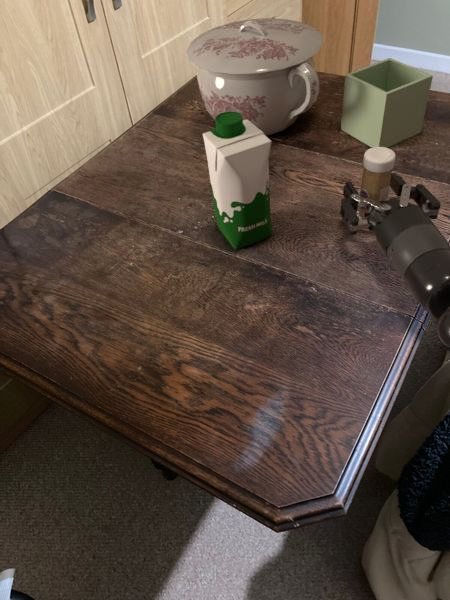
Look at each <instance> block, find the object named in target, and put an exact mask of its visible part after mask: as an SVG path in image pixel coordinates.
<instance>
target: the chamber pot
mask: <svg viewBox="0 0 450 600" xmlns="http://www.w3.org/2000/svg"><path fill="white" fill-rule="evenodd" d="M323 46H324V36H323V35H322V34H321V32H320V31H318V30H317V28H316V27H314V26H311V25H310V24H307V23H305V22H301V21H297V20H292V19H286V18H285V19H284V18H273V17H272V18H271V17H267V18H266V17H265V18H250V19H244V20H237V21H232V22H228V23H226V24H221V25H219V26H216V27H215V26H214V27H212V28H211V29H209V30H206V31H204V32H202V33H200V34H199V35H198V36H196V37H195V38H194V39H193V40H192V41H190V43H189V45H188V47H187V49H186V51H185V52H186V56H187V59H188V61H190V62H191V63H192V64H194V65H195V66H196V67H198V69H197V73H196V79H197V87H198V90H199V93H200V96H201V99H202V101H203V104H204V107H205V110H206V112H207V113H208V114H209V115H210V117H212V119H213V120H214V121H215V118H216V117H217V116H218V115H219V114H221V113H224V112H230V111H232V112H238V113H240V114H241V115H242V118H243V120H246V119H247V120H249V121H250V122H251V123H252V124H253V125H255V126H256V127H257V128H258V129H259V130H261V131H262V132H263V133H264V135H265V136H266V137H267V136H270V135H271V136H273V135H275V134H277V133H280V132H283V131H285V130H286V129H288V128H289V127H291V126H292V125H293V124H294V123H295V122H296V121H297V120H298V118H299V117H300V115H301V114H304V113H306V112H308V111H310V109H311V108H312V107H314V105H315V103H316V102H317V101H318V97H319V95H320V79H319V77H318V76H319V75H318V73H317V72H316V70H315V65H316V64H315V60H314V58H313V57H315V56H316V55H317V53H318V52H319V51H320V50H321V48H323Z"/></svg>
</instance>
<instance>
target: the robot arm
mask: <svg viewBox="0 0 450 600" xmlns="http://www.w3.org/2000/svg"><path fill="white" fill-rule="evenodd" d="M389 188H391V190H392V191H393V192H394V194H395V195H396V197H394V198H390V199H387V201H376V200H374V199H372V198H370V197H367V198H364V197H362V196H360V194H359V191H358V190H357V188H356V187H355V185H354V184H353V182H352V181H351V180H350V181H349V180H348V181H345V184H343V190H342V195H343V197H344V198H341V200H340V210H339V215H340V216H341V219H342V221H343V224H344V225H345V227H346V229H347V232H348V234H349V235H351V236H356V235H357V234H358V231H362V230H361V229H368V230H369V232H371V233H373V235H374V236H375V239H376V241H377V243H378V244H379V246H380V248H381V250H382V251H383V253H384V254H385V256H386V258H387V259H388V261H389V263H390V264H391V265H392V267H393V268H394V269H395V271H396V273H397V274H398V275H399V277H400V278H401V279H402V280H403V281H404V282H405V284H406V285H407V287H408V289H409V291H410V292H411V293H412V295H413V296H414V298H415V299H416V301H417V302H418V303H419V305H420V306H421V307H422V308H423V310H424V311H426V313H427V314H428V315H429V316H430V317H431V319H432V320H433V322H434V323H435V325H436V327H437V337H438V338H439V341H440V342H441V344H442V345H443V347H444V348H445V349H446V350H447V352H449V353H450V243H449V241H448V240H447V239H446V237H445V236H444V235H443V234H442V232H441V231H440V230H439V228H438V227H437V226H436V225H435V223H434V222H433V221H432V220H437V219H438V216H439V212H440V209H441V205H442V203H441V202H440V201H439V200H438V199H437V197H435V195H434V194H433V193H432V192H431V191H430V190H429V189H428V188H427V187H426V186H425V185H424V184H422V183H417V184H416V185H415V186H412V185H411V184H409V183H407V182H406V181H405V180H404V178H403V177H402V176H401V175H399V174H397V173H396V172H392V173H391V179H390V187H389ZM398 197H400V198H398ZM410 200H413V201H414V202H415V204H414V203H412V202H409V201H410ZM358 203H359V204H360V205H361V207H360V206H358ZM370 207H372V209H371V211H370V212H369V210H370Z"/></svg>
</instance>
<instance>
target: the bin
mask: <svg viewBox="0 0 450 600" xmlns="http://www.w3.org/2000/svg"><path fill="white" fill-rule="evenodd" d="M433 78H434V75H432V74H430V73H427V72H425V71H423V70H420V69H418V68H416V67H412V66H411V65H408V64H406V63H403V62H400V61H398V60H396V59H393V58H391V57H388V58H386V59H383V60H380V61H378V62H375V63H373V64H370V65H367V66H365V67H362V68H360V69H357V70H354V71H351V72H349V73H346V74H345V75H344V86H343V97H342V98H343V99H342V109H341V122H340V130H341V131H343V132H344V133H346V134H348V135H350V136H351V137H353V138H355V139H356V140H358V141H360V142H362V143H363V144H365V145H366V146H368V147H370V148H373V147H386V148H389V147H392V146H394V145H396V144H398V143H401V142H403V141H405V140H407V139H409V138H412V137H414V136H416V135H419V134H421V133H422V129H423V124H424V121H425V115H426V110H427V106H428V101H429V97H430V91H431V86H432V82H433Z"/></svg>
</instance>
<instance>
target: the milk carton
mask: <svg viewBox="0 0 450 600" xmlns="http://www.w3.org/2000/svg"><path fill="white" fill-rule="evenodd" d="M214 123H215V128H213V129H209V131H206V132H203V133H202V139H203V142H204V148H205V153H206V160H207V166H208V174H209V182H210V189H211V194H212V195H211V196H212V203H213V209H214V216H215V220H216V225H217V228H218V230H219V231H220V233H222V235H223V236H224V237H225V238H226V240H227V241H228V243H229V244H230V245H231V247H232V248H233V249H234V251H235V250H236V251H237V250H239V249H242V248H245V247H247V246H249V245H252V244H255V243H258V242H260V241H262V240H265V239H267V238H271V237H273V230H272V229H273V228H272V215H271V195H270V193H271V192H270V191H271V190H270V171H269V170H270V166H269V165H270V163H269V158H270V153H271V146H272V140H271V139H270V138H268V136H267V135H266V136H265V135H264V133H263V132H262V131H261V130H259V129H258V128H257V127H256V126H255V125H253V124H252V123H251V122H250V121H249V120H247V119H246V120H243V118H242V115H241V114H240V113H238V112H232V111H230V112H224V113H221V114H219V115H218V116H217V117H216V118H215V120H214Z"/></svg>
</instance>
